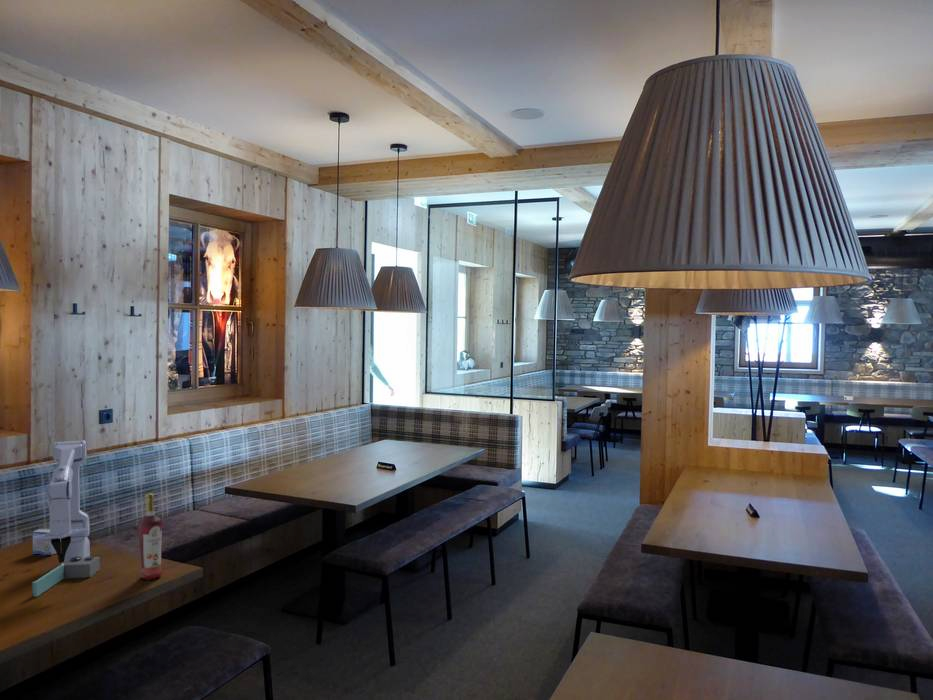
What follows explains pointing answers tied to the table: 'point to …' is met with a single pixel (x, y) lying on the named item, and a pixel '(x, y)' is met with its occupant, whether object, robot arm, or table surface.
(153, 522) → the liquor
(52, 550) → the medicine box
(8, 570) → the table surface
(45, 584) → the side door
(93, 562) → the camera case
